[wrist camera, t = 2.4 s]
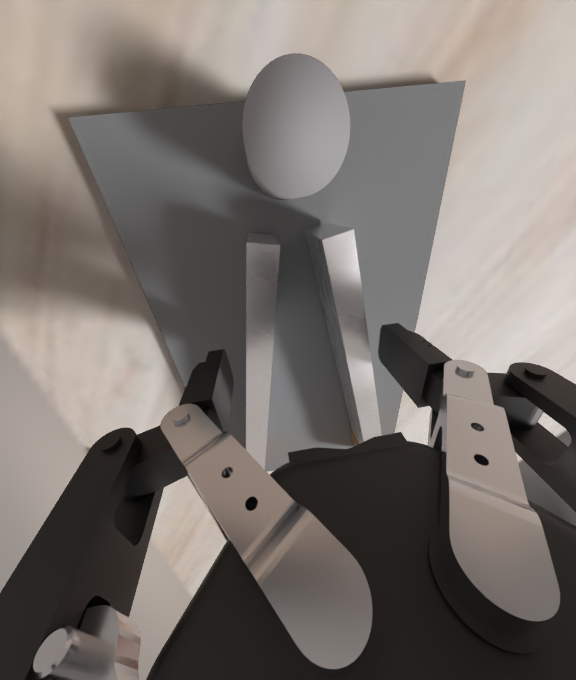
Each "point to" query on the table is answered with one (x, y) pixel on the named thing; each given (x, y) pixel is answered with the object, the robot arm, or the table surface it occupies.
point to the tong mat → (279, 225)
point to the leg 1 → (259, 337)
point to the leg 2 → (346, 323)
